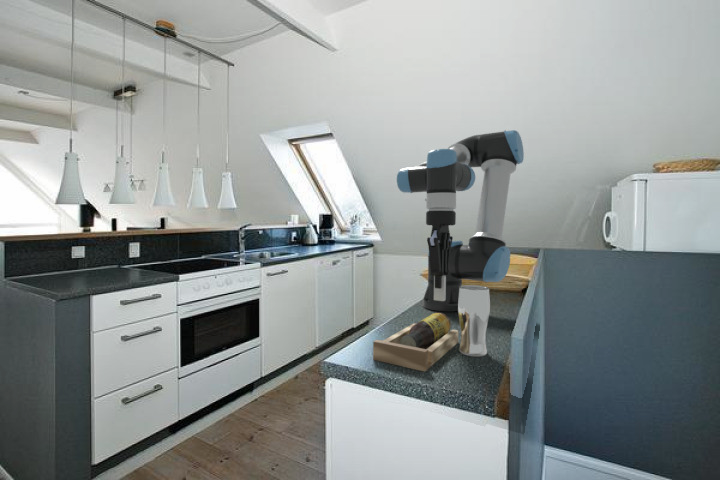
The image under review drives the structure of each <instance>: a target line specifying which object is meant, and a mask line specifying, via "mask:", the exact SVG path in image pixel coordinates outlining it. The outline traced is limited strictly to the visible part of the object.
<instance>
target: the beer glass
mask: <svg viewBox="0 0 720 480" xmlns="http://www.w3.org/2000/svg"><path fill="white" fill-rule="evenodd" d="M490 299H491V298H490V288H489V287H488V286H484V285H477V284H476V285H474V284H473V285H471V284H465V285H462V286H460V287H459V297H458V311H457V313H458V320H459V325H460V331H461V332H460V334H461V336H460V338H461V339H460V344H459V349H458V351H459V352H460V353H461V354H462V355H465V356H468V357H475V358H476V357H478V358H479V357H484V356H486V355H487V353H488V351H487V343H486V333H487V329H488V328H487V327H488V324H489V323H488V322H489V319H490V318H489V317H490V312H491V311H490V309H491V301H490Z"/></svg>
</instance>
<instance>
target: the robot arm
mask: <svg viewBox="0 0 720 480" xmlns="http://www.w3.org/2000/svg"><path fill="white" fill-rule="evenodd" d="M524 154H525V152H524V145H523V140H522V137H521V135H520V133H519V131H517V130H514V129H513V130H507V129H505V130H503V131H498V132H497V131H496V132H492V133H491V132H488V133H483V134H481V133H480V134H476V135H471V136H468V137H466V138H463V139H461V140H460V141H459V140H458V141H457V142H455V143H453V144H451V145H449V146H448V148H437V149H432V150H430V151H428V153H427V157H426V161H424V162H422V163H419V164H417V165H416V166H412V167H410V166H409V167H405V168H401V169H399V171H398V172H397V174H396V183H397V188H398V190H399V191H400V192H401V193H408V194H409V193H410V194H413V193H423V192H424V193H425V192H426V197H425V199H424V201H425V202H426V209H427V210H428V211H426V212H425V224H426V225H427V226H431V232H430V237H427V238H426V241H427V246H428V255H427V259H428V260H427V263H428V264H427V265H428V266H427V271H428V272H427V275H428V276H427V279H428V281H427V287H426V289H425V293H424V294H423V298H422V306H423V308H425V309H427V310H431V311H437V312H458V297H459V287H460V286H463V280H469V281H478V282H485V283H499V282H501V281H502V280H503V279H504V278H505V277H506V276H507V274H508V271H509V269H510V268H509V267H510V264H511V250H510V248H509V247H508V246H506V245H507V244H506V241H505V240H504V239H503V232H504V231H503V230H504V223H505V217H506V216H505V215H506V209H507V201H508V194H509V188H510V187H509V185H510V180H511V174H513V173H514V172H516V169H517V165H520V164H522V163H523V162H524V157H525V155H524ZM473 168H480V169H481V170H482V171H483V173H484V175H483V180H482V187H481V192H480V193H481V194H480V200H479V206H478V214H477V217H476V218H477V219H476V224H475V230H474V232H475V233H474V235H472V236H470V238H469V240H468V244H464V243H463V241H462V240H455V241H453V236H451V233H450V226H455V225H456V223H457V222H456V219H457V218H456V216H457V215H456V211H454V210H455V209H456V208H457V192H465V191H467V190H470V189H471V188H472V187H473V186H474V184H475V181H476V173H475V171H474V169H473Z"/></svg>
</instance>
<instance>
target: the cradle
mask: <svg viewBox="0 0 720 480" xmlns="http://www.w3.org/2000/svg"><path fill="white" fill-rule="evenodd" d="M415 324H416V323H412V324H411V325H409V326H406V327H404V328H403V329H401V330H400V331H397V332H396V333H394V334H391V335H390V336H388V337H387V338H385V339H383V340H380V339H375V340H374V341H373V342H372V344H373V345H372V346H373V347H372V350H373V351H372V352H373V353H372V356H373V357H372V359H373V361H376V362H377V361H378V362H383V363H386V364H390V365H396V366H399V367H404V368H408V369H412V370H417V371H419V372H420V371H421V372H426V371H428V370H429V369H430V368H431V367H432V366H433V365H434V364H436V363H437V362H438V361H439V360H440V359H441V358H443V356H445V355H446V354H447V353H448V352H449V351H451V349H452V348H454V347H455V346H456V345H457V344H458V343H459V330H457V329H450V331H449V332H448V333H447V334H446V335H445V336H443V337H442V338H441V339H439V340H438V341H437V342H435V343H434V344H433V345H431V346H430V347H427V348H425V349H422V348H417V347H412V346H406V345H401V344H400V341H401V338H402V337H404V336H405V335H407V334H409V331H410V329H411V328H412V326H413V325H415Z"/></svg>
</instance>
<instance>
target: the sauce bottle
mask: <svg viewBox="0 0 720 480" xmlns="http://www.w3.org/2000/svg"><path fill="white" fill-rule="evenodd" d="M414 324H415V325H413V326H412V328H411V329H410V331H409V334H407V335H405V336H404V337H402V338H401V341H400V344H401V345H406V346H412V347H417V348H422V349H428V348H429V347H430V346H431V345H433V344H434V343H435V342H437V341H438V340H439V339H441V338H442V337H443V336H445V335H446V334H447V333H449V332H450V331H451V327H452V326H451V325H452V324H451V320H450V318H449V317H448V316H447V315H446V314H445V313H442V312H435V313H434V312H433V313H432V314H430V315H429V316H427V317H425V318H423V319H422V320H420V321H418V322H416V323H414Z"/></svg>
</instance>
